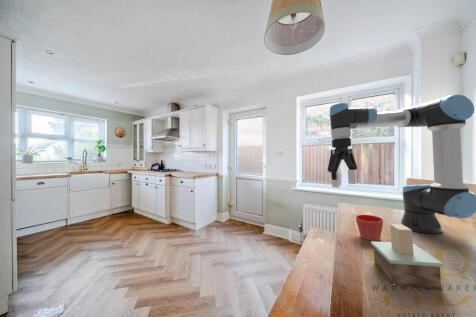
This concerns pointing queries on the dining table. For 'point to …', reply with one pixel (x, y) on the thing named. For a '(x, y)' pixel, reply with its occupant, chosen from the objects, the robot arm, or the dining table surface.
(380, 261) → the crate
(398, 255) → the lid
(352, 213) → the dining table surface
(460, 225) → the dining table surface
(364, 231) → the flower pot
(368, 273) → the dining table surface
